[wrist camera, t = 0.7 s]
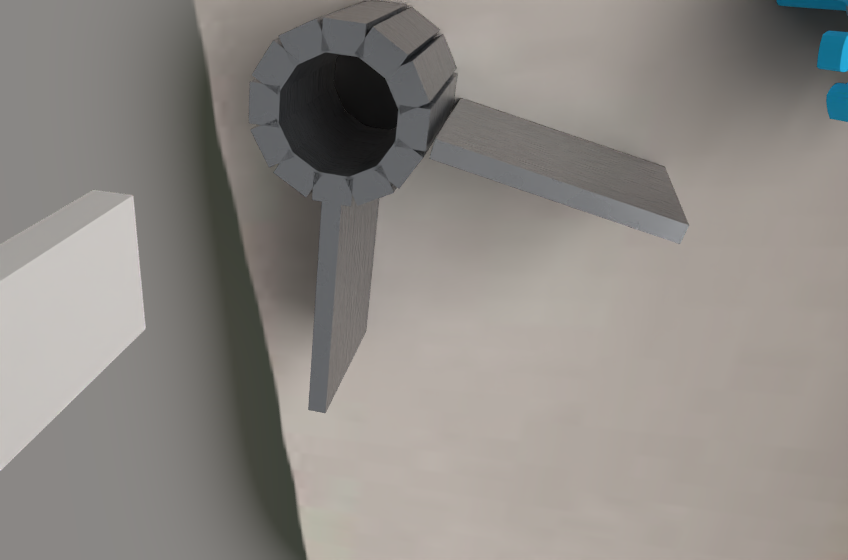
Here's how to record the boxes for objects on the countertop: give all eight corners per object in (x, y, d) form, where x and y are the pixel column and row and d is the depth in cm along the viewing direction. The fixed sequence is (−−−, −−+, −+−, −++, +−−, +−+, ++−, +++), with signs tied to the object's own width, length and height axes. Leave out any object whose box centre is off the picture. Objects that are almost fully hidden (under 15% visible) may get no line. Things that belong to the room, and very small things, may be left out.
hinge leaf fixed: (314, -9, 36) (251, 7, 29) (465, 12, 35) (439, 34, 28) (296, 318, 43) (242, 396, 36) (422, 341, 42) (392, 426, 35)
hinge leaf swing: (455, 114, 37) (429, 158, 30) (461, 97, 37) (435, 138, 30) (657, 182, 37) (679, 243, 30) (664, 166, 37) (689, 225, 29)
